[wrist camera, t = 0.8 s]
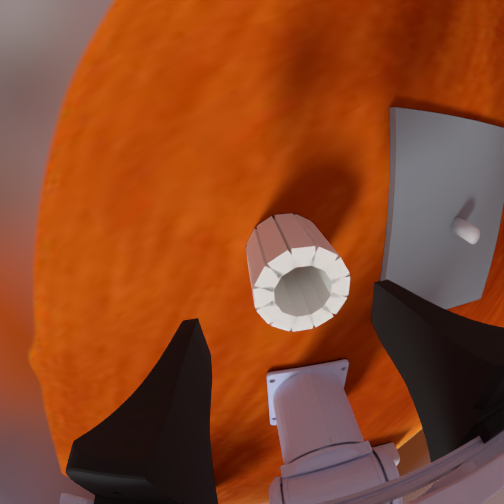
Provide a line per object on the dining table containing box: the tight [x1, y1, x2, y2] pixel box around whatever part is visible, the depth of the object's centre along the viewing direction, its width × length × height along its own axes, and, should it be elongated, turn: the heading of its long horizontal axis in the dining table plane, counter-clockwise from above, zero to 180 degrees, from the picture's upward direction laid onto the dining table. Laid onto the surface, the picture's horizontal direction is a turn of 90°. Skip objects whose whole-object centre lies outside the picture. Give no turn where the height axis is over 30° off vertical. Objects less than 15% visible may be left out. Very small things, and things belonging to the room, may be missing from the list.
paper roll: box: [246, 213, 350, 332], centre depth 18 cm, size 5×5×6 cm
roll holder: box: [380, 107, 504, 309], centre depth 20 cm, size 18×14×3 cm
